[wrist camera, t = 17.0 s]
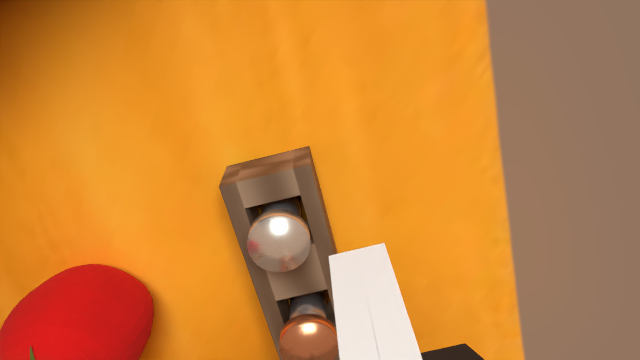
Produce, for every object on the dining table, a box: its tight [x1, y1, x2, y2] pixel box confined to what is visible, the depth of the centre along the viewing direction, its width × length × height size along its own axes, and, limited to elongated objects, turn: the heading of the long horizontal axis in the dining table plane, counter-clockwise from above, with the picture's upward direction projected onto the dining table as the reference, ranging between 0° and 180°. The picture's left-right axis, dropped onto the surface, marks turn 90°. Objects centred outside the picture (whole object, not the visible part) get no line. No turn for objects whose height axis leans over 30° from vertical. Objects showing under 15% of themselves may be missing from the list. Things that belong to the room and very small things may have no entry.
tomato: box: [0, 264, 154, 360], centre depth 44 cm, size 13×11×14 cm
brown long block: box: [219, 146, 340, 360], centre depth 49 cm, size 8×30×5 cm, turn 14°
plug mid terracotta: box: [279, 291, 338, 360], centre depth 46 cm, size 5×5×7 cm
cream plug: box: [247, 197, 310, 272], centre depth 43 cm, size 5×5×7 cm
